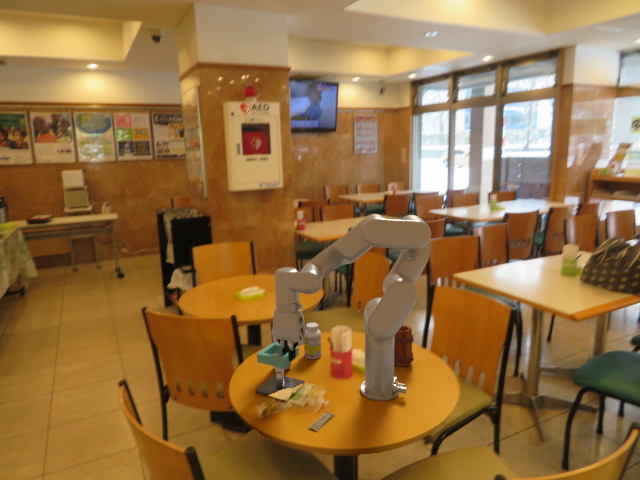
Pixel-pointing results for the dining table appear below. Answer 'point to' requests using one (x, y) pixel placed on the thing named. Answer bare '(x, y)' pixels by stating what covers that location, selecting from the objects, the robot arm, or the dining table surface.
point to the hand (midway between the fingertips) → (289, 358)
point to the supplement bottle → (312, 341)
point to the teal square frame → (274, 356)
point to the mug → (403, 346)
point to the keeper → (278, 383)
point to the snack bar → (321, 421)
